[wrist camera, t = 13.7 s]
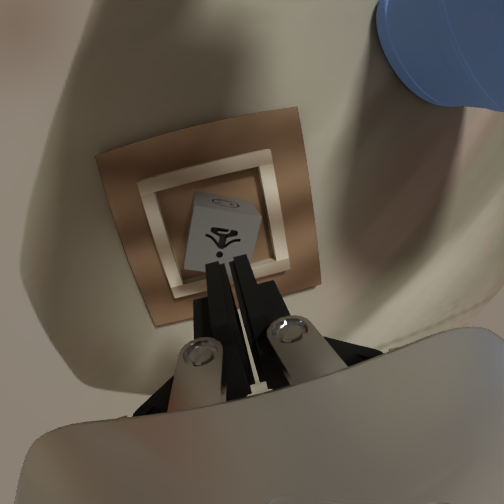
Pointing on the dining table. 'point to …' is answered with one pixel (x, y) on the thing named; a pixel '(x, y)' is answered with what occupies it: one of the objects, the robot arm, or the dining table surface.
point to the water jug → (446, 49)
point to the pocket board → (218, 183)
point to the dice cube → (220, 231)
